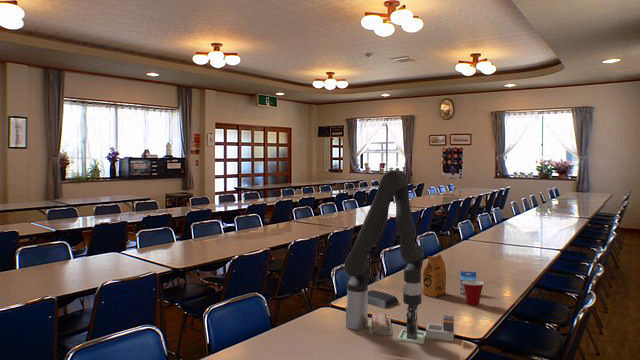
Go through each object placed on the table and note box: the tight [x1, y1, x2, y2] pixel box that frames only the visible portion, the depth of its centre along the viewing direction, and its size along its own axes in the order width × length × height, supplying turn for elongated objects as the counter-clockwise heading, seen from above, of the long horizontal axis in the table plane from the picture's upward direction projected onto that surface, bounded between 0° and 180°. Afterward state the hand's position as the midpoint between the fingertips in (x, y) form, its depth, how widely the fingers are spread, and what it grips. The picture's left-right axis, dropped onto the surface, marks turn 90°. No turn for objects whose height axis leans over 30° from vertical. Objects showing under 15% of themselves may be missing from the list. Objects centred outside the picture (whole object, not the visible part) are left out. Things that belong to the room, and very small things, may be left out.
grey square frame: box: [425, 314, 455, 342], centre depth 188 cm, size 11×8×9 cm
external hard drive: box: [368, 289, 399, 309], centre depth 236 cm, size 13×19×4 cm
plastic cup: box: [462, 280, 485, 307], centre depth 230 cm, size 11×11×12 cm
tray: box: [396, 328, 426, 345], centre depth 187 cm, size 11×11×2 cm
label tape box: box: [459, 270, 478, 295], centre depth 248 cm, size 9×4×12 cm, turn 73°
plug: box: [406, 317, 419, 340], centre depth 187 cm, size 4×4×8 cm
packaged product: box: [368, 312, 393, 336], centre depth 199 cm, size 18×5×10 cm
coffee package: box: [421, 253, 447, 298], centre depth 248 cm, size 10×12×22 cm
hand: (412, 331), depth 187 cm, fingers closed on plug, 4 cm apart
